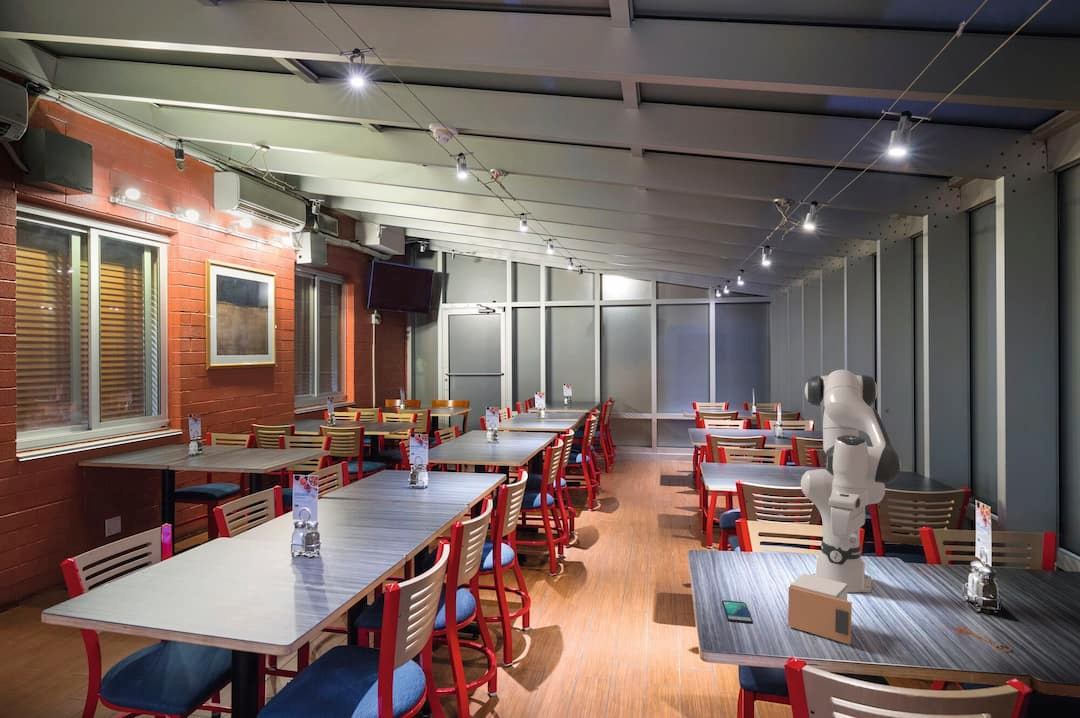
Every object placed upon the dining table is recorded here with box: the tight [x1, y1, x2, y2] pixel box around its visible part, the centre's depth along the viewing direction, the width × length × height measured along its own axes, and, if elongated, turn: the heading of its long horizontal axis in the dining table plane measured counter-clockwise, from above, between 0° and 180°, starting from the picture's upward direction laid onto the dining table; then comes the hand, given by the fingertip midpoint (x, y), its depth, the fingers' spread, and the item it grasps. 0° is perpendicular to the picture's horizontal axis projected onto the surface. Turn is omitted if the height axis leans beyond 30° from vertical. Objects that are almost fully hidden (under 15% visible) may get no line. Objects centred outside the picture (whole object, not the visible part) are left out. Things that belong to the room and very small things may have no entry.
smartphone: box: [721, 599, 754, 625], centre depth 178 cm, size 7×1×15 cm
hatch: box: [787, 585, 853, 645], centre depth 163 cm, size 2×16×11 cm, turn 49°
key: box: [952, 625, 1012, 653], centre depth 163 cm, size 6×1×15 cm
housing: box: [789, 573, 848, 601], centre depth 170 cm, size 12×12×12 cm
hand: (848, 547), depth 162 cm, fingers open, 6 cm apart
